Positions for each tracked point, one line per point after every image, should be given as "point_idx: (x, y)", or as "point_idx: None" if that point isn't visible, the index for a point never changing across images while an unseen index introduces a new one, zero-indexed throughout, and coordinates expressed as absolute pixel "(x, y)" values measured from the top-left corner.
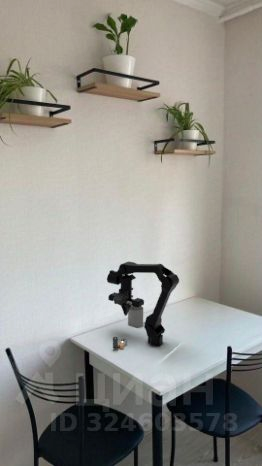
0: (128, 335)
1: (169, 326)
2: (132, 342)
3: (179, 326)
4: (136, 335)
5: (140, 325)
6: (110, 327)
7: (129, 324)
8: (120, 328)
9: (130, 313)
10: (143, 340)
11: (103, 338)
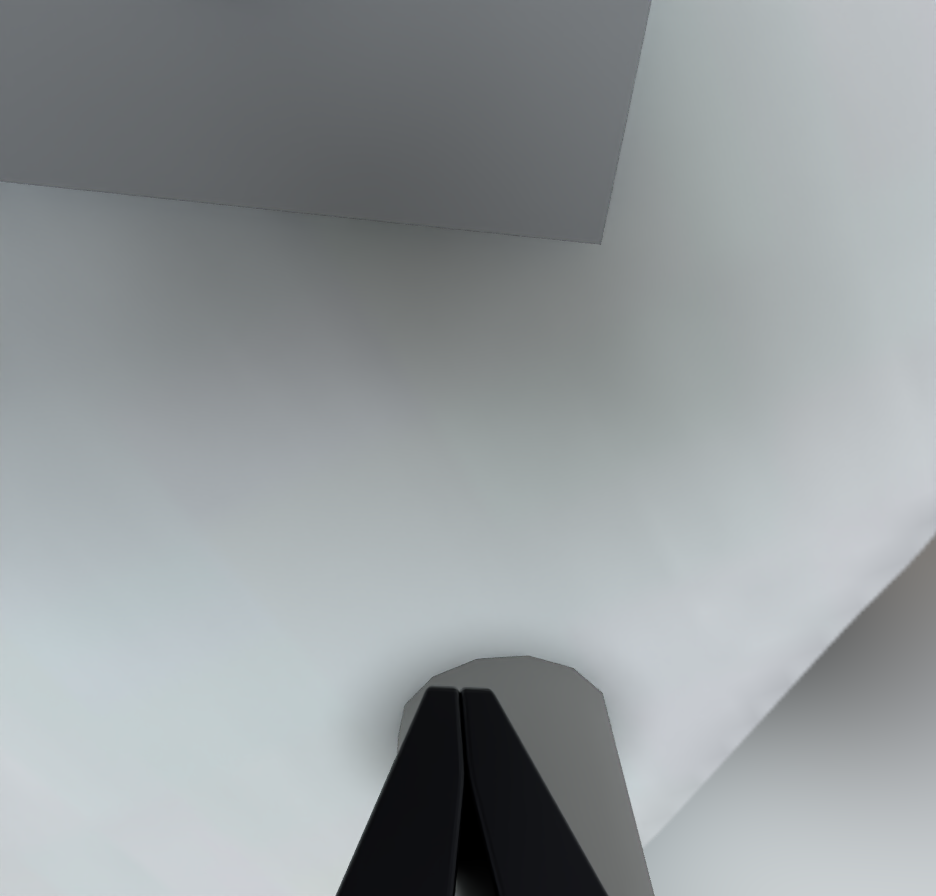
0: (427, 426)
1: (100, 851)
2: (200, 213)
3: (6, 889)
4: (308, 486)
5: (404, 730)
6: (830, 525)
7: (565, 690)
8: (661, 565)
9: None
10: (89, 388)
11: (837, 66)
